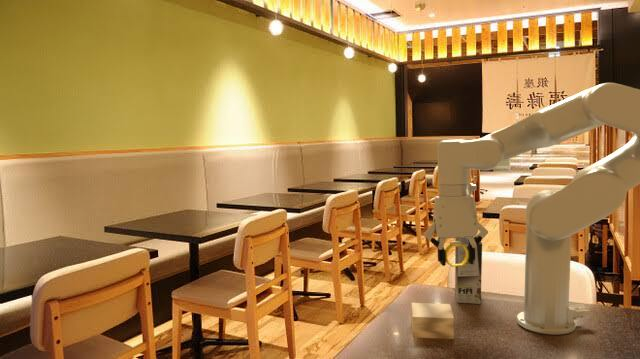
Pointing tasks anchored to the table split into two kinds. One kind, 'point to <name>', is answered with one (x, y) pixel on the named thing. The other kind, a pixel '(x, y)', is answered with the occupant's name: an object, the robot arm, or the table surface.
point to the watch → (457, 243)
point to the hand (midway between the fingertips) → (456, 262)
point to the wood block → (432, 321)
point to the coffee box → (468, 274)
